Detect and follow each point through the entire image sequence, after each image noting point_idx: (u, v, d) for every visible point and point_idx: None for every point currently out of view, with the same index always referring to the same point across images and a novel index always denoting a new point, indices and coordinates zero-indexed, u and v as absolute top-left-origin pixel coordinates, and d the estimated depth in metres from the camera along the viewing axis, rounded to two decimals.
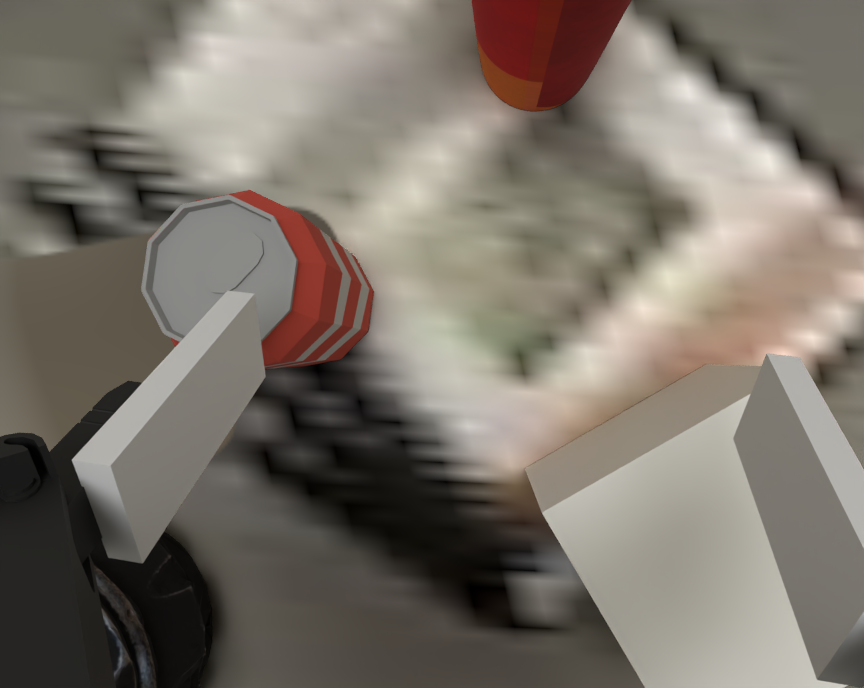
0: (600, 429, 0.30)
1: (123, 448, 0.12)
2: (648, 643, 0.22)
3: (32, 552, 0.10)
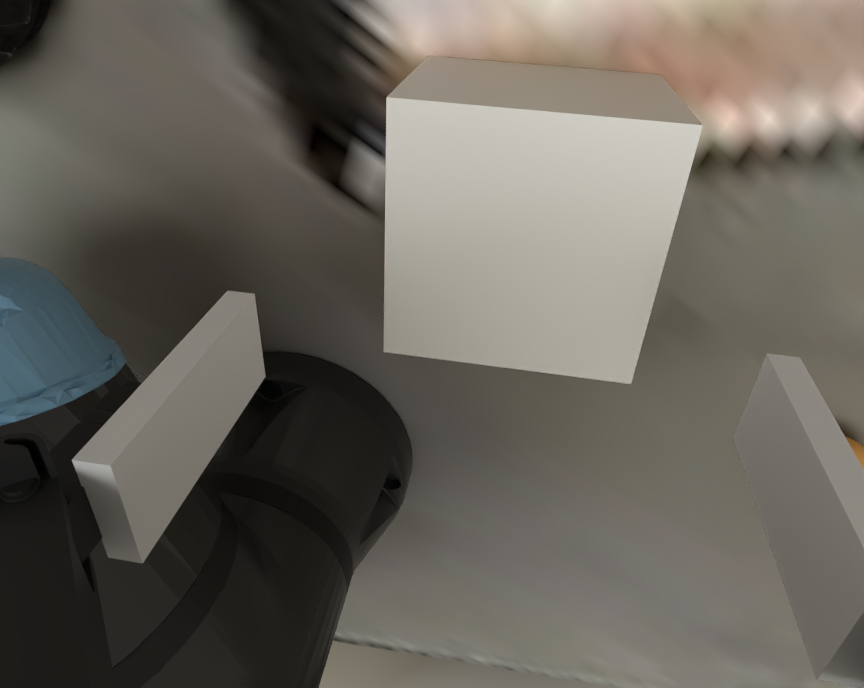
0: (518, 67, 0.27)
1: (123, 448, 0.12)
2: (407, 258, 0.24)
3: (32, 552, 0.10)
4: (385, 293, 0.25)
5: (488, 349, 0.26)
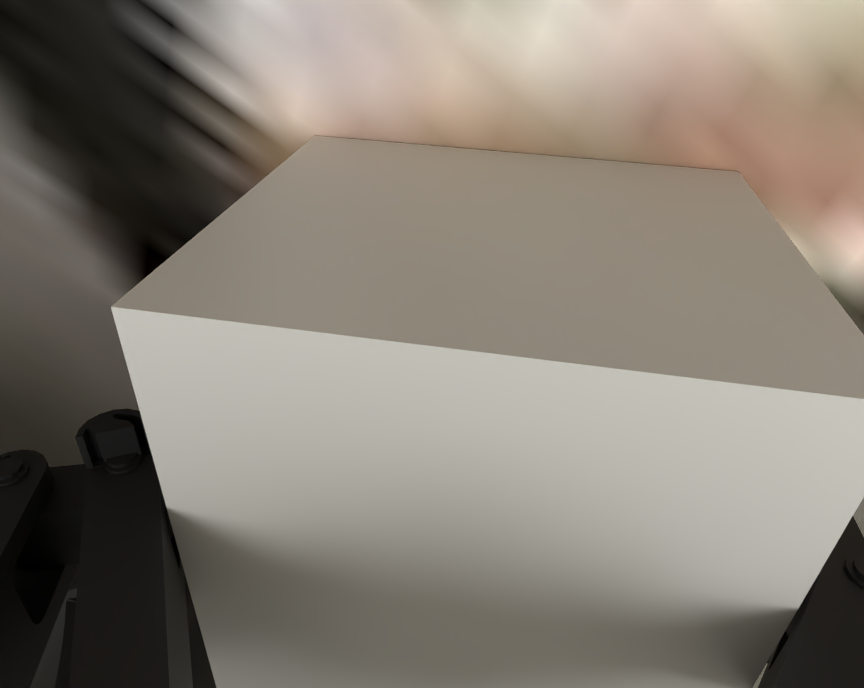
0: (472, 161, 0.15)
1: None
2: (231, 584, 0.12)
3: (128, 524, 0.10)
4: (203, 627, 0.13)
5: None
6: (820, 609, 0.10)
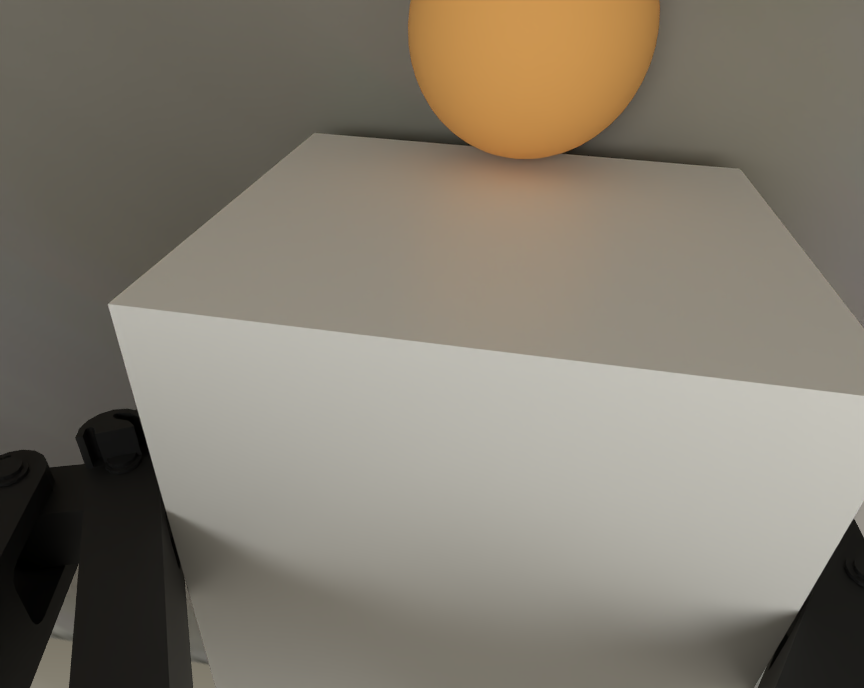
0: (472, 158, 0.15)
1: None
2: (230, 583, 0.12)
3: (129, 524, 0.10)
4: (202, 627, 0.13)
5: None
6: (820, 609, 0.10)
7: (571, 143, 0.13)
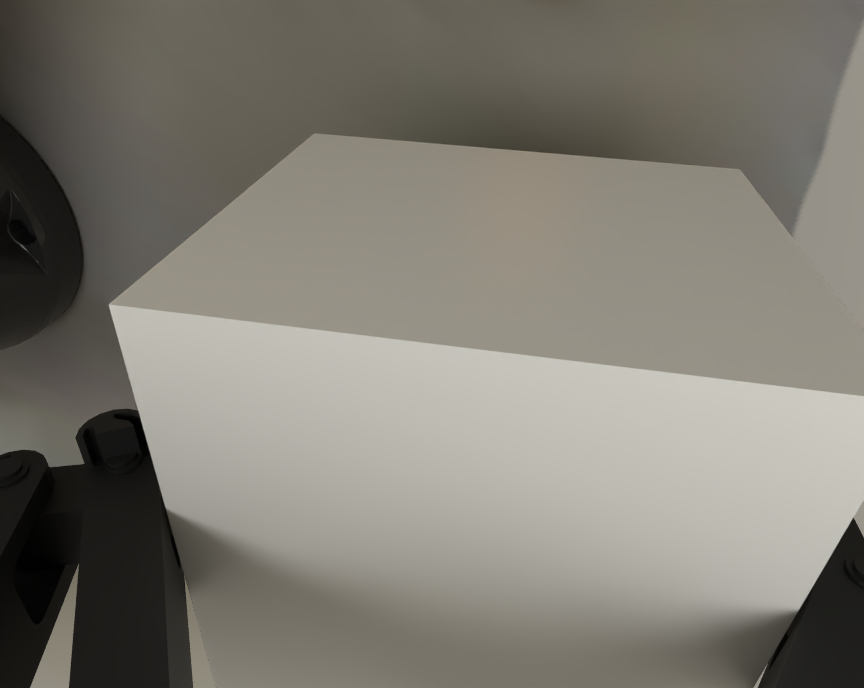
0: (472, 159, 0.15)
1: None
2: (230, 583, 0.12)
3: (128, 524, 0.10)
4: (201, 626, 0.13)
5: None
6: (820, 609, 0.10)
7: None
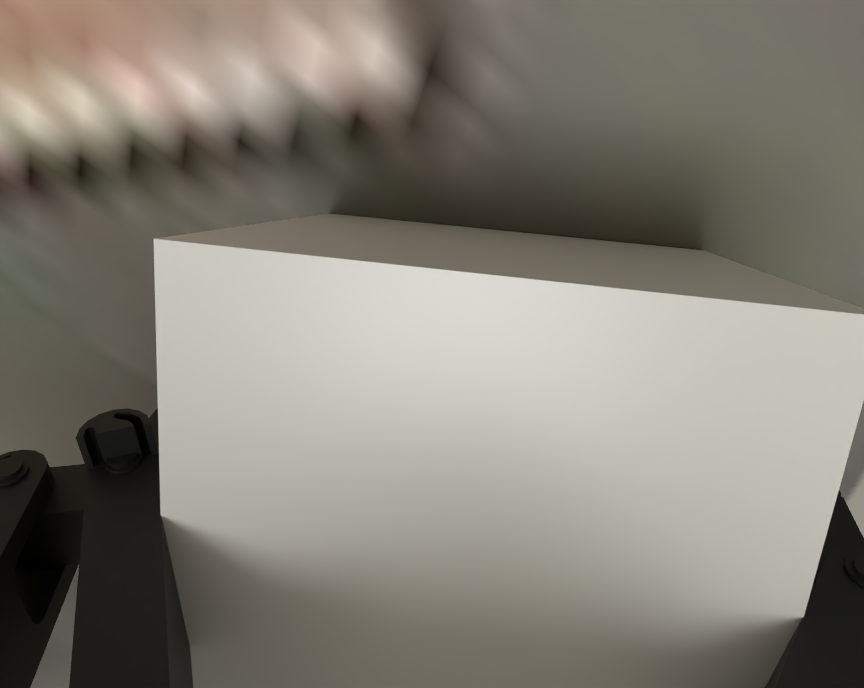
0: (469, 229, 0.16)
1: None
2: (211, 585, 0.11)
3: (129, 524, 0.10)
4: None
5: None
6: (820, 609, 0.10)
7: None
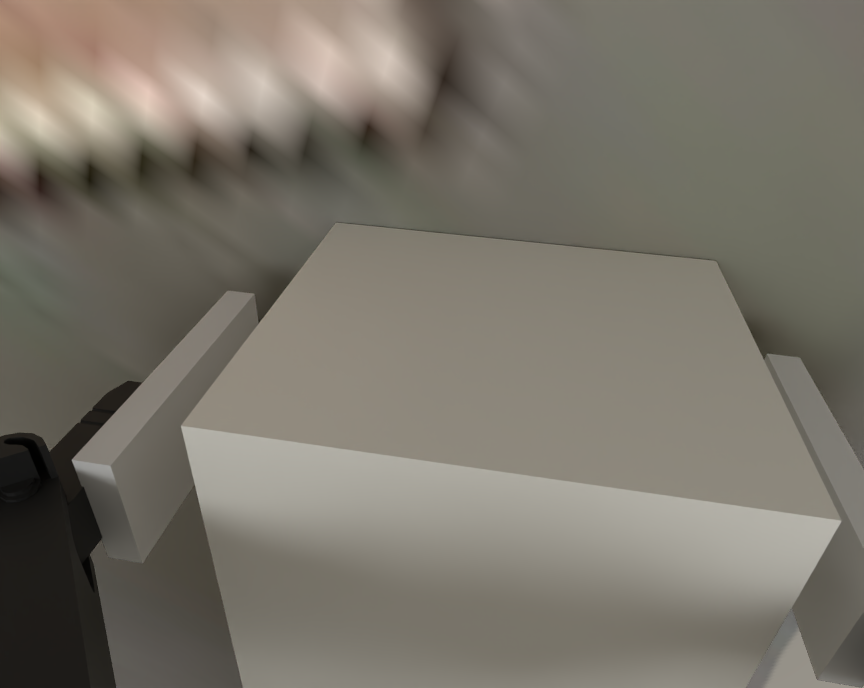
0: (478, 252, 0.16)
1: (123, 448, 0.12)
2: (269, 639, 0.13)
3: (32, 552, 0.10)
4: (242, 673, 0.14)
5: None
6: None
7: None
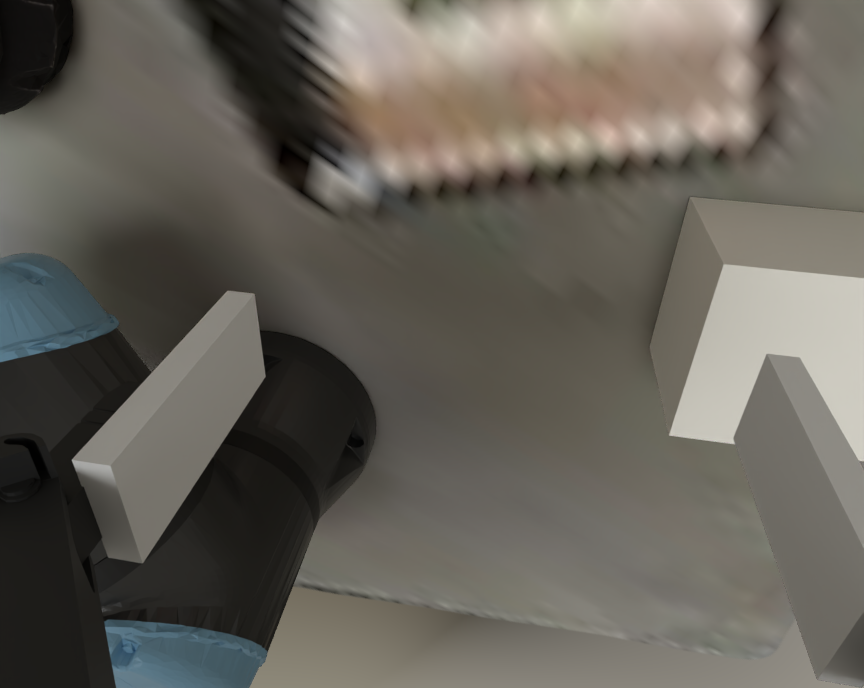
0: (770, 210, 0.35)
1: (123, 448, 0.12)
2: (708, 370, 0.32)
3: (32, 552, 0.10)
4: (683, 394, 0.33)
5: None
6: None
7: None
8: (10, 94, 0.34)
